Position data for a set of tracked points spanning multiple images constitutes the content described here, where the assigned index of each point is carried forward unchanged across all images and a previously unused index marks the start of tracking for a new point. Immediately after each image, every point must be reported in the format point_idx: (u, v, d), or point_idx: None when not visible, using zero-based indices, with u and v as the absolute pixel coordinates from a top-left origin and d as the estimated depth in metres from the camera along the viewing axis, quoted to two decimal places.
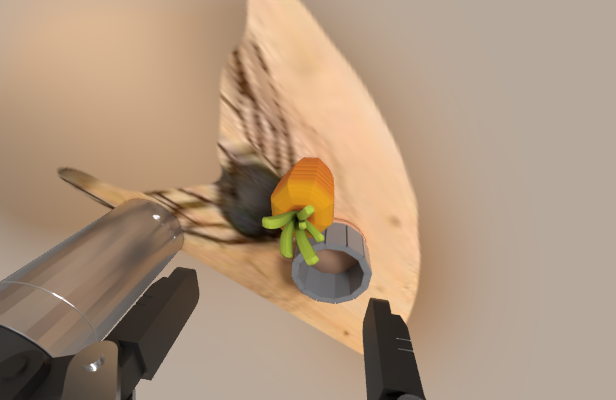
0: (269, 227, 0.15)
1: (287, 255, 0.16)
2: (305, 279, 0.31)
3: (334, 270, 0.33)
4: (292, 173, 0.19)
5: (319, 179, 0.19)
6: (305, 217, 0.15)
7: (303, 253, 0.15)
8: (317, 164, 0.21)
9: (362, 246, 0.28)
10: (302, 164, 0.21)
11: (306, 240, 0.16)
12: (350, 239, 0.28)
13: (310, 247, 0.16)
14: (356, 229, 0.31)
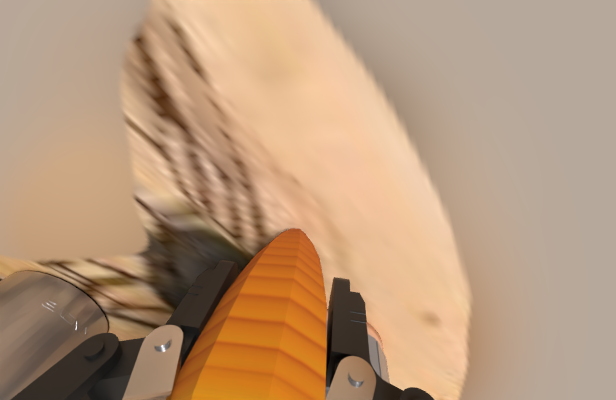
0: None
1: None
2: None
3: None
4: (220, 338, 0.08)
5: (286, 364, 0.07)
6: None
7: None
8: (290, 284, 0.10)
9: (379, 372, 0.17)
10: (258, 283, 0.10)
11: None
12: None
13: None
14: (367, 330, 0.19)
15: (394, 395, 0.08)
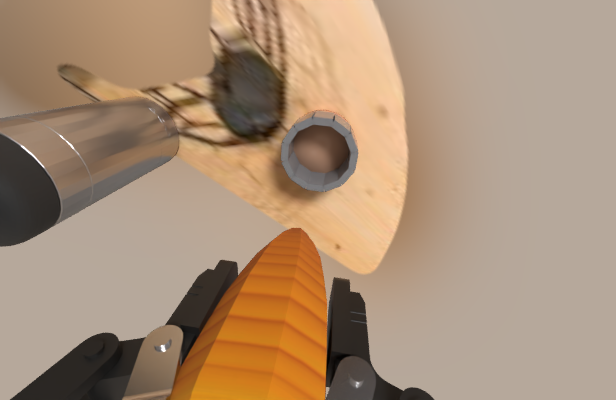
0: None
1: None
2: (295, 169, 0.32)
3: (324, 168, 0.34)
4: (220, 336, 0.08)
5: (286, 363, 0.07)
6: None
7: None
8: (291, 283, 0.10)
9: (349, 128, 0.29)
10: (258, 282, 0.10)
11: None
12: (337, 119, 0.29)
13: None
14: (345, 120, 0.31)
15: (394, 395, 0.08)
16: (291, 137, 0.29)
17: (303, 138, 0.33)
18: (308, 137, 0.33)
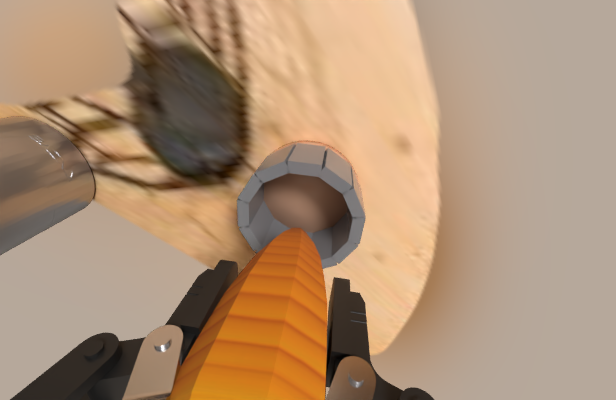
0: None
1: None
2: (264, 234, 0.20)
3: (311, 226, 0.23)
4: (220, 336, 0.08)
5: (286, 362, 0.07)
6: None
7: None
8: (291, 283, 0.10)
9: (350, 175, 0.18)
10: (258, 282, 0.10)
11: None
12: (330, 162, 0.17)
13: None
14: (342, 157, 0.20)
15: (394, 395, 0.08)
16: (252, 192, 0.17)
17: (278, 183, 0.21)
18: (285, 182, 0.21)
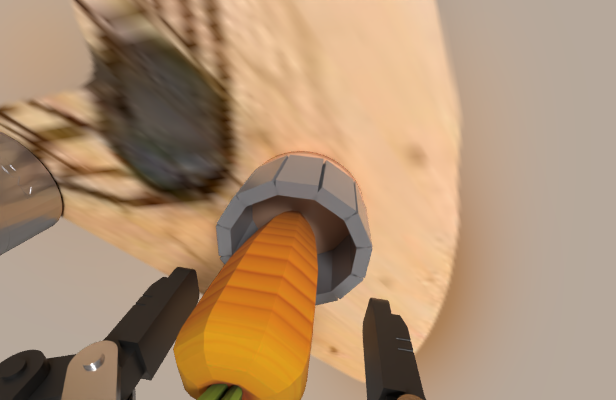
0: None
1: None
2: None
3: None
4: (230, 283, 0.09)
5: (282, 306, 0.09)
6: None
7: None
8: (289, 250, 0.11)
9: (354, 195, 0.14)
10: (261, 247, 0.11)
11: None
12: (329, 179, 0.14)
13: None
14: (344, 171, 0.17)
15: None
16: (234, 217, 0.14)
17: (268, 201, 0.18)
18: (277, 199, 0.18)
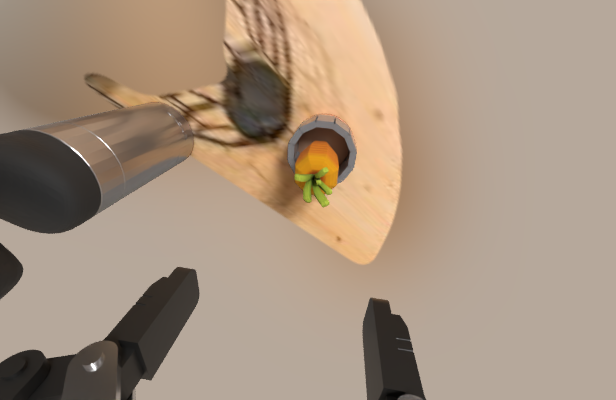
0: (299, 180, 0.23)
1: (308, 200, 0.24)
2: None
3: None
4: (310, 149, 0.28)
5: (329, 154, 0.27)
6: (322, 175, 0.24)
7: (319, 199, 0.24)
8: (326, 144, 0.30)
9: (348, 130, 0.33)
10: (316, 144, 0.30)
11: (320, 191, 0.25)
12: (338, 122, 0.32)
13: (323, 195, 0.24)
14: (344, 122, 0.35)
15: None
16: (296, 138, 0.32)
17: (307, 139, 0.36)
18: (311, 138, 0.36)
